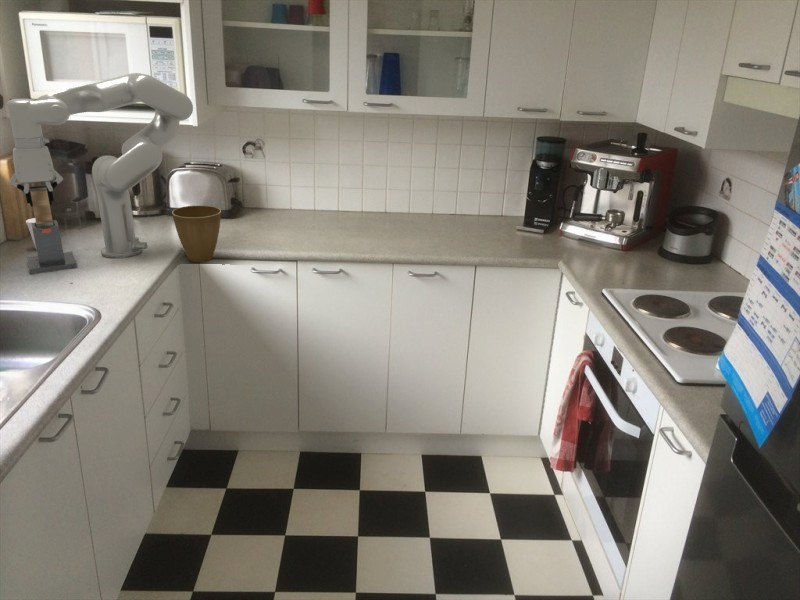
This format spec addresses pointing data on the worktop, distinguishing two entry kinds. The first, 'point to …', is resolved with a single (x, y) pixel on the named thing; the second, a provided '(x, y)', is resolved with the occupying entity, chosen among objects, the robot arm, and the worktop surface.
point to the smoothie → (31, 227)
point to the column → (41, 206)
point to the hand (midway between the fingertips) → (41, 204)
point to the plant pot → (198, 230)
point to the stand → (49, 251)
